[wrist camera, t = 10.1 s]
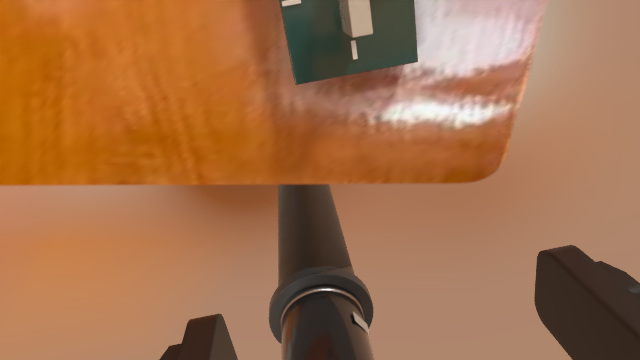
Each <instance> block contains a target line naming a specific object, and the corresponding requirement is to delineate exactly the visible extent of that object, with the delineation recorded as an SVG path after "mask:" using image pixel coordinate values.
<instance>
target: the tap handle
mask: <svg viewBox="0 0 640 360" xmlns="http://www.w3.org/2000/svg"><path fill="white" fill-rule="evenodd" d="M339 7H340V14H341V22H342V29H343V33H345V34H347V35H349V36H351V37H353V38H354V37H360V36H365V35H370V34H373V28H372V19H371V10H370V1H369V0H339Z"/></svg>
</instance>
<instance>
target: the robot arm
mask: <svg viewBox="0 0 640 360" xmlns="http://www.w3.org/2000/svg"><path fill="white" fill-rule="evenodd" d="M535 306H536V310H537V312H538V315H539V317H540V319H541V321H542V322H543V324H544V325H545V326H546V328H547V329H548V330H549V331H550V333H551V334H552V335H553V336H554V337H555V338H556V340H557V341H558V342H559V344H560V345H561V346H562V347H563V348H564V350H565V351H566V352H567V353H568V355H569V356H570V357H571V358H572V359H573V360H640V283H639V282H637V281H636V280H635V279H634V278H632V277H631V276H630V275H628V274H627V273H626V272H624V271H622V270H620V269H617V268H615V267H613V266H611V265H609V264H606V263H604V262H602V261H599V262H594V261H593V260H592V259H591V258H590V257H588V256H587V255H586V254H585V253H584V252H582V251H581V250H580V249H579V248H577V247H576V246H573V245H569V246H563V247H559V248H553V249H548V250H544V251H540V252H539V254H538V257H537V268H536V284H535ZM280 327H281V333H282V346H281V348H282V360H375V358H374V354H373V351H372V347H371V343H370V340H369V336H368V333H369V329H368V326H367V324H366V323H365V321H364V314H363V310H362V306H361V304H360V302H359V300H358V298H357V297H356V296H355V295H354V294H353V293H352V292H350V291H349V290H347V289H345V288H343V287H340V286H337V285H331V284H319V285H313V286H310V287H307V288H304V289H302V290H300V291H298V292H297V293H295V294H294V295H293V296H292V297H290V298H289V300H288V301H287V302H286V303H285V305H284V307H283V309H282V312H281V317H280ZM160 360H238V359H237V356H236V353H235V350H234V347H233V344H232V341H231V338H230V335H229V332H228V330H227V327H226V324H225V321H224V319H223V316H222V315H221V314H215V315H210V316H205V317H201V318H195V319H191V320H189V322H188V323H187V327H186V330H185V334H184V338H183V341H182V344H177V345H172V346H169V347H168V349H167V350H166V352H165V353H164V354H163V356H162V357H161V358H160Z"/></svg>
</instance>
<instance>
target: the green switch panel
mask: <svg viewBox="0 0 640 360" xmlns="http://www.w3.org/2000/svg"><path fill="white" fill-rule="evenodd" d="M369 1H370V10H371V19H372V28H373V34H370V35H365V36H360V37H354V38H353V37H351V36H349V35H347V34H345V33H343V29H342V22H341V14H340V7H339V0H279V2H280V8H281V13H282V18H283V23H284V29H285V34H286V39H287V44H288V49H289V55H290V60H291V65H292V70H293V76H294V81H295V84H296V85H298V84H303V83H308V82H314V81H319V80H324V79H330V78H335V77H340V76H346V75H351V74H356V73H362V72H367V71H372V70H378V69H383V68H388V67H394V66H399V65H404V64H410V63H415V62H418V55H417V40H416V24H415V9H414V0H369Z"/></svg>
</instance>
